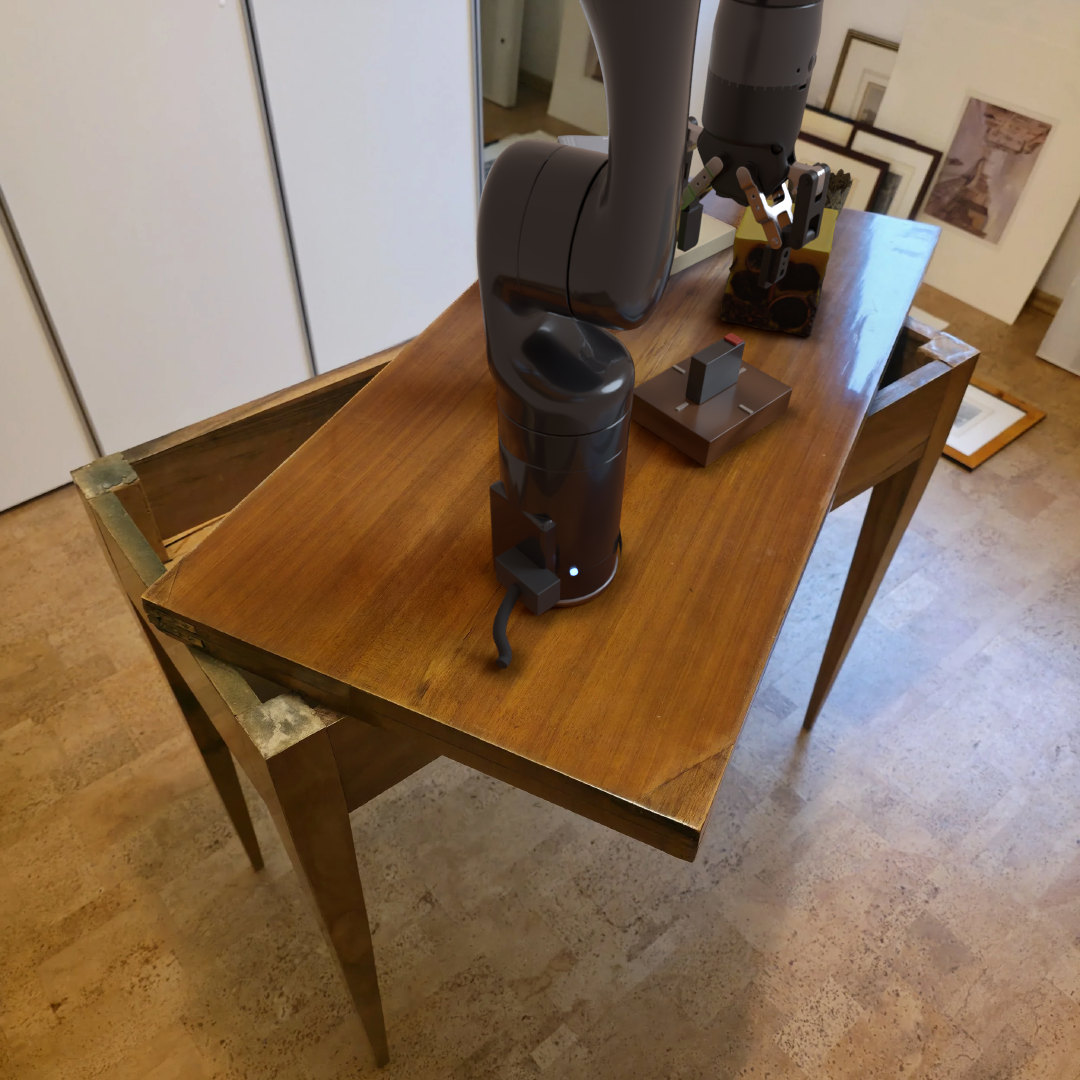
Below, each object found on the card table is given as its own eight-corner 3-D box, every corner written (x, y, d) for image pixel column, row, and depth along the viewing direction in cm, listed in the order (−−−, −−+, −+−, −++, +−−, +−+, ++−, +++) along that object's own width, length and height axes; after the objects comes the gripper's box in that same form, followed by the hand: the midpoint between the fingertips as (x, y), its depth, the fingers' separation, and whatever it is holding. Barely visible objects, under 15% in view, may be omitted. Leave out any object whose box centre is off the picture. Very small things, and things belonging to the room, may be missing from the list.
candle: (810, 340, 94) (833, 254, 87) (717, 323, 96) (732, 237, 89) (821, 292, 101) (843, 209, 93) (733, 277, 103) (748, 194, 96)
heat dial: (699, 405, 81) (706, 362, 78) (684, 396, 82) (691, 353, 79) (737, 381, 84) (746, 339, 80) (723, 373, 85) (731, 331, 81)
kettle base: (667, 277, 103) (671, 246, 100) (607, 246, 108) (609, 215, 105) (733, 244, 108) (739, 213, 105) (673, 216, 113) (677, 185, 110)
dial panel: (705, 467, 80) (710, 440, 77) (626, 415, 85) (629, 389, 83) (786, 413, 85) (793, 386, 83) (708, 367, 90) (712, 341, 88)
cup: (847, 238, 109) (865, 175, 104) (816, 260, 106) (832, 195, 100) (796, 219, 113) (810, 156, 107) (764, 239, 109) (777, 175, 103)
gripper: (652, 51, 65) (635, 252, 77) (817, 104, 58) (771, 315, 70) (713, 27, 69) (688, 222, 81) (875, 74, 62) (821, 279, 74)
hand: (726, 265), depth 76 cm, fingers open, 8 cm apart
